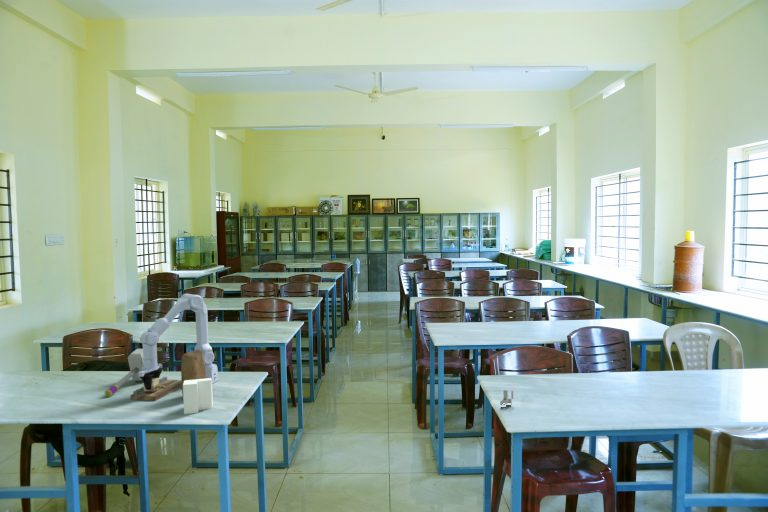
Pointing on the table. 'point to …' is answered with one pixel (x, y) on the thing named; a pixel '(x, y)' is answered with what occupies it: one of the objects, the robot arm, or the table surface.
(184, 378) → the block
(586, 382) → the table surface
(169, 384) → the board
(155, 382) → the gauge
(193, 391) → the corner bracket
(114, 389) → the hammer
